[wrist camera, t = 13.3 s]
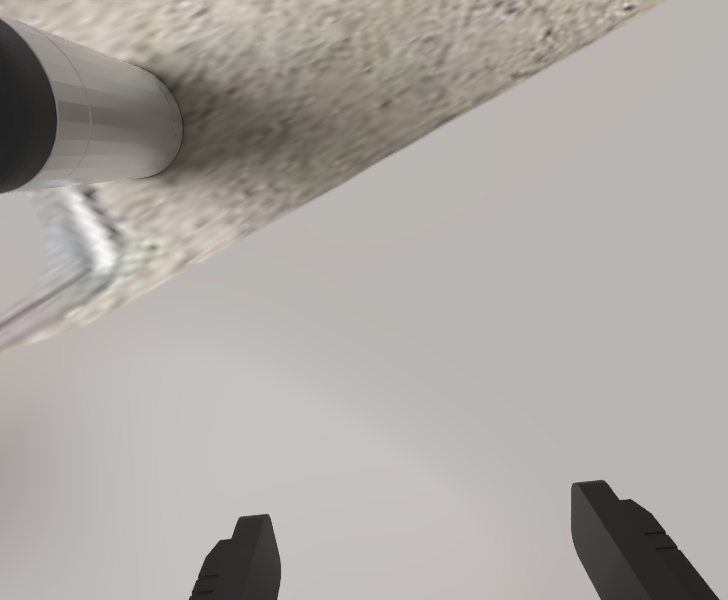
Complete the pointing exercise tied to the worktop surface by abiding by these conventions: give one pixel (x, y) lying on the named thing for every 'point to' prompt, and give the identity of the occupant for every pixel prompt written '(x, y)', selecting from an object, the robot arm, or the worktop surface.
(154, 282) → the worktop surface
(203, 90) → the worktop surface
